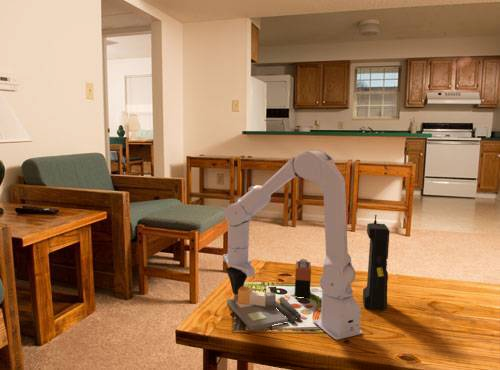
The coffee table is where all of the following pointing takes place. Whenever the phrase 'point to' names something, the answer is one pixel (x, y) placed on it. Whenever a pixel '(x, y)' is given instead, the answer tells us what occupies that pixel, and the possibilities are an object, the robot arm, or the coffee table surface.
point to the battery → (303, 278)
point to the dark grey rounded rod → (290, 308)
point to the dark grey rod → (285, 312)
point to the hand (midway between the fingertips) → (237, 293)
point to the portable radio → (377, 267)
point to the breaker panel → (256, 315)
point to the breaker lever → (256, 297)
